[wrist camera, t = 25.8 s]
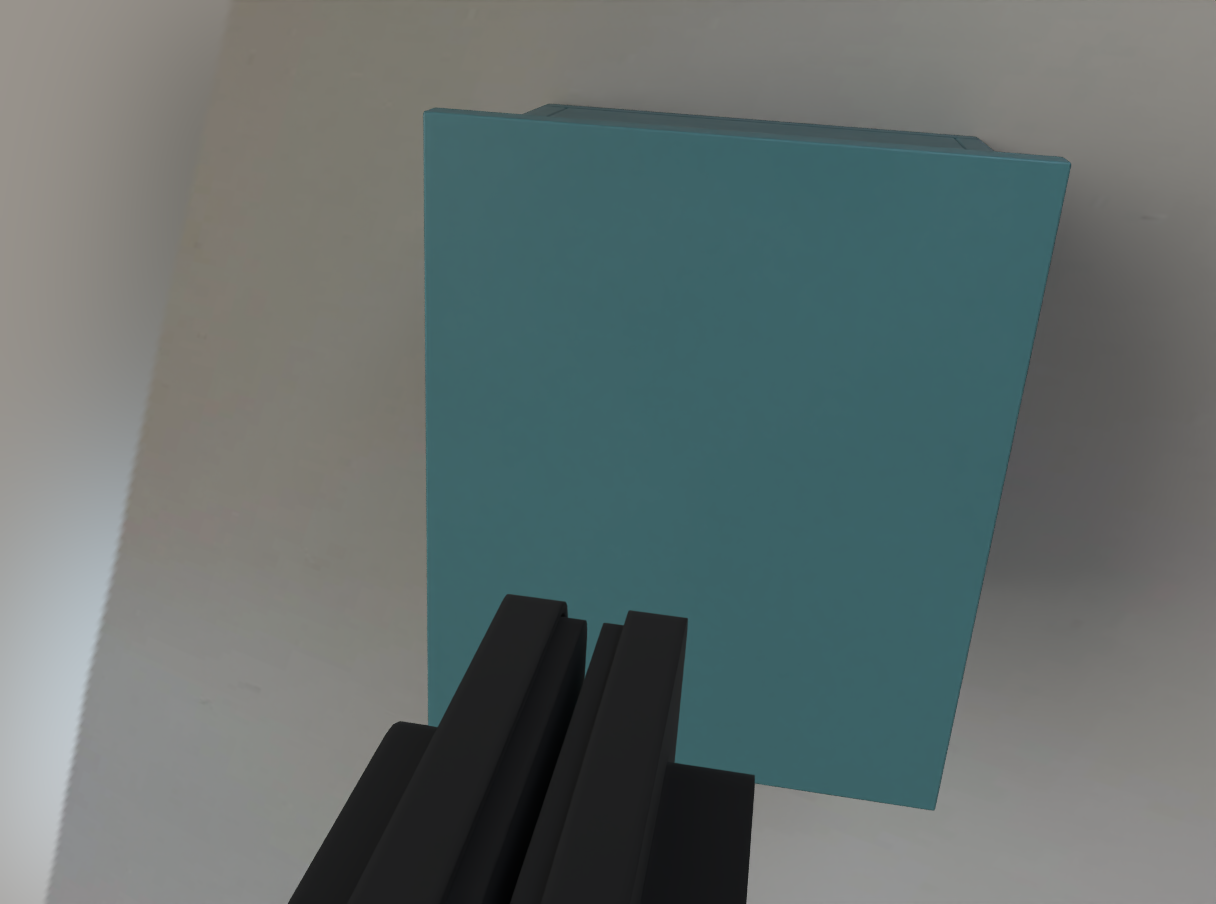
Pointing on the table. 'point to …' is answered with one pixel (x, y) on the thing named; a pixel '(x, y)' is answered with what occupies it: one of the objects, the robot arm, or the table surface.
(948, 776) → the table surface
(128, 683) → the table surface
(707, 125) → the teal open box
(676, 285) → the cool box lid
